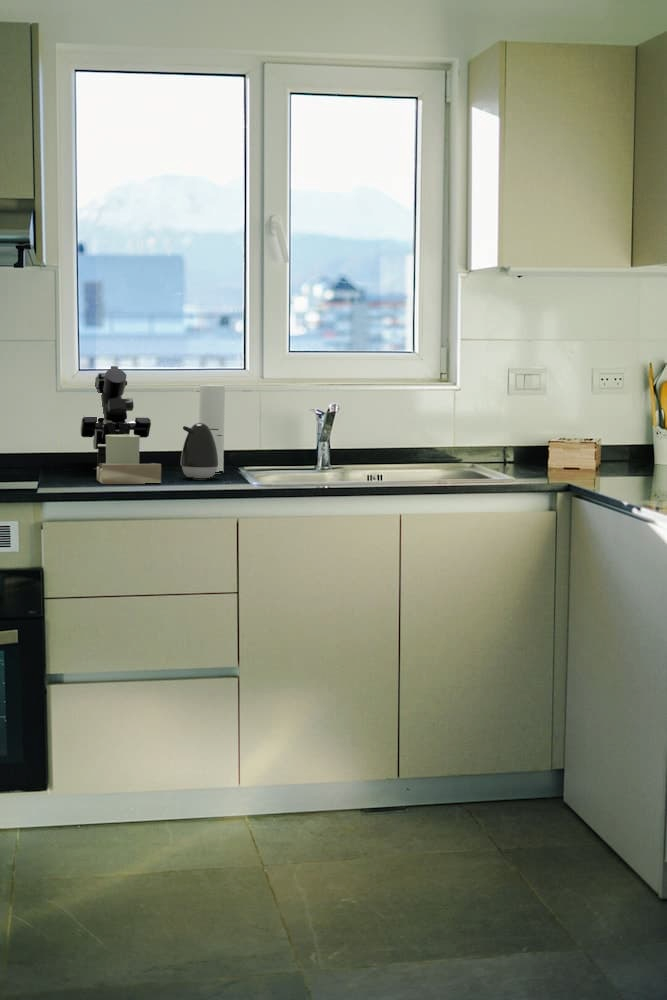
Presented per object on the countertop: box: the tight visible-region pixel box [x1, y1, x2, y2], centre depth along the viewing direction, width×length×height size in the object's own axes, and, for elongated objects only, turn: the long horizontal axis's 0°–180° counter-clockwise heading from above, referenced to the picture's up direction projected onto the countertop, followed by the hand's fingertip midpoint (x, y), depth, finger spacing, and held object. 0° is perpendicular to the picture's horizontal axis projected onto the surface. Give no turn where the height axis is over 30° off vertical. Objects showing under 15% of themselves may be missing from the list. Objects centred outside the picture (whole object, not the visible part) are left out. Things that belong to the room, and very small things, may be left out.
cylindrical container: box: [198, 384, 226, 472], centre depth 353 cm, size 7×7×25 cm
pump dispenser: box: [180, 422, 218, 479], centre depth 333 cm, size 10×10×15 cm
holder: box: [96, 462, 162, 485], centre depth 319 cm, size 10×15×5 cm
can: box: [105, 434, 141, 464], centre depth 328 cm, size 9×9×12 cm
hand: (119, 449), depth 334 cm, fingers closed
